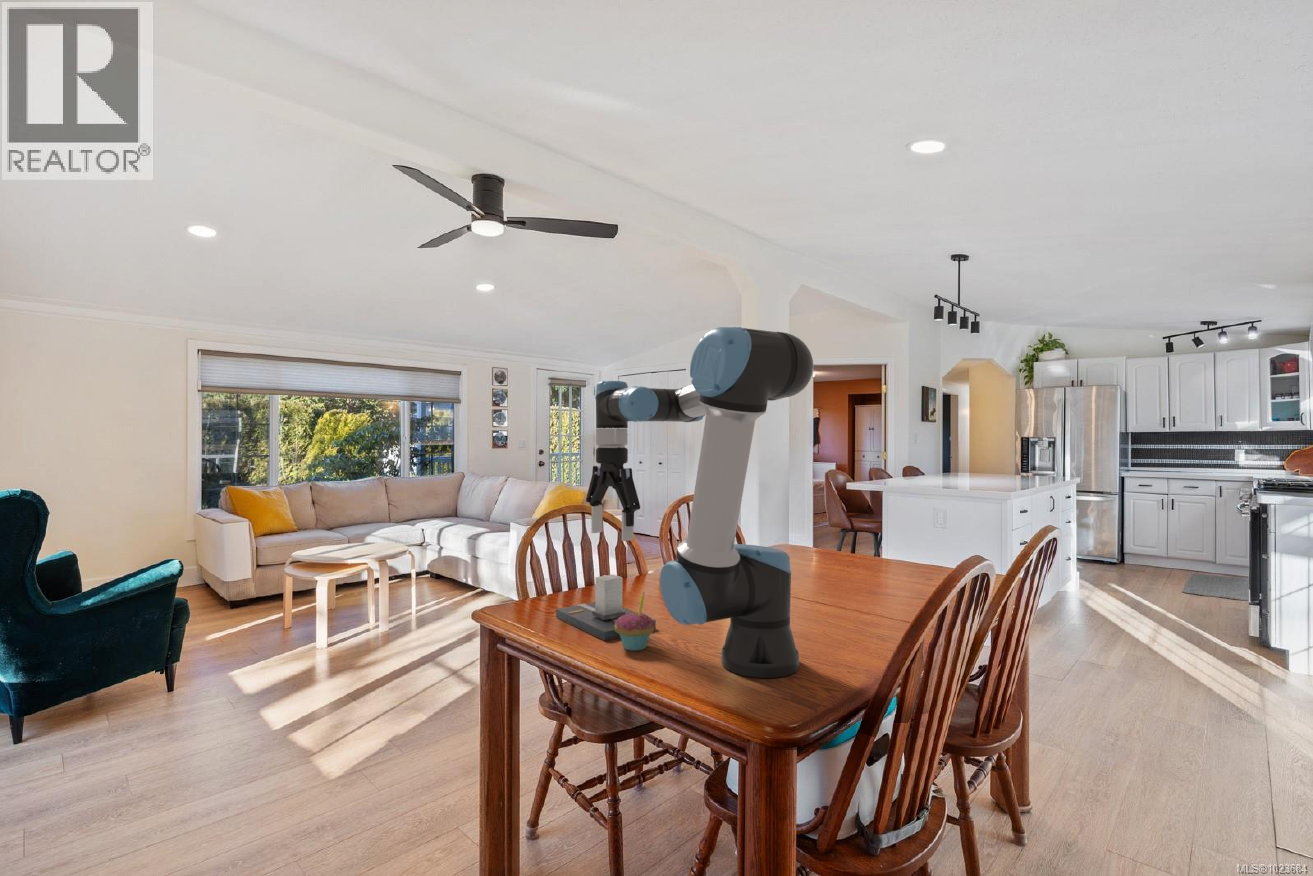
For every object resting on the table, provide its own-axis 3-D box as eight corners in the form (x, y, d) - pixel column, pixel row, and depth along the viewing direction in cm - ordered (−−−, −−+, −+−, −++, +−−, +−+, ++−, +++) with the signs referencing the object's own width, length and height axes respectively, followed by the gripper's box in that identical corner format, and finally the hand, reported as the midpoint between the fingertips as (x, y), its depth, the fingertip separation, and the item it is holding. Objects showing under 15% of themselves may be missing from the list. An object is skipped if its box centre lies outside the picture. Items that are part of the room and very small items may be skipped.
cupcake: (659, 642, 138) (659, 587, 138) (648, 655, 130) (648, 597, 130) (621, 639, 141) (621, 584, 141) (608, 651, 133) (608, 594, 132)
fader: (625, 615, 150) (625, 576, 150) (603, 620, 147) (603, 580, 147) (613, 610, 154) (613, 573, 154) (592, 615, 151) (592, 576, 151)
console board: (655, 629, 148) (655, 619, 148) (604, 641, 139) (604, 631, 139) (604, 607, 165) (604, 599, 165) (556, 617, 157) (556, 608, 157)
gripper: (655, 447, 143) (655, 542, 143) (598, 445, 163) (598, 528, 164) (627, 448, 139) (627, 545, 139) (572, 445, 159) (572, 530, 159)
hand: (611, 536), depth 151 cm, fingers open, 13 cm apart
